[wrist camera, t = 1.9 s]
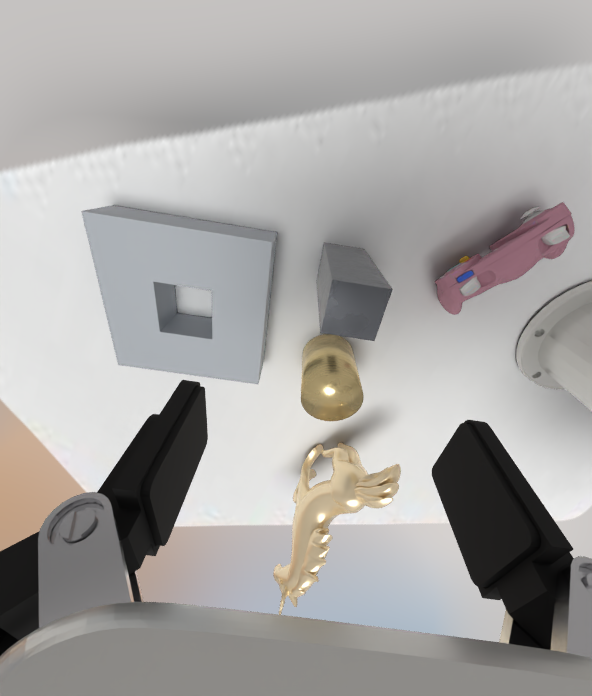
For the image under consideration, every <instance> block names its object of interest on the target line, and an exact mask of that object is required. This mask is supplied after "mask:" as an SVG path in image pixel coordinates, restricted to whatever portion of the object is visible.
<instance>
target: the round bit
mask: <svg viewBox="0 0 592 696" xmlns="http://www.w3.org/2000/svg"><path fill="white" fill-rule="evenodd" d="M301 403H302V406H303V408H304V409H305V410H306V412H307V413H308V414H310V415H311V416H313V417H315V418H317V419H320V420H324V421H338V420H343V419H346V418H348V417H350V416H352V415H353V414H355V413H356V412H357V411H358V410H359V408H360V407H361V405H362V403H363V391H362V387H361V383H360V379H359V375H358V371H357V367H356V363H355V358H354V354H353V350H352V347H351V345H350V344H349V343H348V341H347V340H345V339H344V338H342V337H340V336H337V335H331V334H323V335H319V336H317V337H315V338H313V339H311V340H310V341H309V342H308V343H307V344H306V346H305V347H304V350H303V355H302V384H301Z"/></svg>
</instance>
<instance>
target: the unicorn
mask: <svg viewBox="0 0 592 696" xmlns="http://www.w3.org/2000/svg"><path fill="white" fill-rule="evenodd" d="M337 446H338V447H335V448H331V449H329V450H323V446H322V445H321V444H319V445H317V446H316V447H315V448H313V449H312V450H311V451H310V453H309V454H308V456H307V458H306V460H305V461H304V463H303V465H302V469H301V475H300V480H299V483H298V485H297V488H296V490H295V492H294V495H293V501H294V502H295V503H296V508H295V514H294V518H293V528H292V556H291V563H290V564H288V565H287V566H285V567H281V564H278V565H277V566H276V567H275V569H274V579H275V581H276V582H277V583H278V584H279V586H280V590H281V592H282V600H281V604H280V611H279V615H281V611H282V608H283V605H284V603H285V598H286V597H287V596H289V598H290V600H291V602H292V603H293V605H294V606H295V607H297V597H300V596H302V595H304V594H305V593H306V591H307V590H308V589H309V588H310V587H311V585H312V584H313V583H314V582H316V581H317V582H318V577H317V576H316V575H317V573H318V571H319V569H320V568H321V567H322V566H323V565H324V564H325V563H326V560H325V557H326V555H327V552H328V550H329V547H328V546H326V545H327V544H328V543H329V542H330V541H331V540H332V536H331V535H328V532H329V529H328V526H329V524H330V522H331V521H332V520H333V519H334V518H335V517H336V516H338V515H339V514H346V513H356V512H358V511H360V510H361V509H362V508H363V507H364V506H365V505H366V506H368V507H371V508H382V507H385V506H387V505H388V504H390V503H391V502H392V501H393V498H391V497H393V496H394V495H395V494H396V493H397V491H398V489H399V485H398V483H397V482H398V480H399V477H400V473H401V468H400V465H399V464H396V465H393V466H391V467H389V468H388V467H387V468H386V469H384V470H383V471H381V472H378V473H374V474H369V475H368V473H367V471H366V470H365V469H364V467H363V466H362V464H361V461H360V458H359V455H358V453H357V451H356V450H355V449H354V448H353V447H351V446H348V445H345V444H344V443H339V444H337ZM321 453H322V456H323V457H326V458H333V459H332V466H333V475H332V477H331V480H327V481H323V482H320V483H318V484H316V485H315V486H313V487H312V488H311V489H310V488H309V481H310V480H311V479H312V478H314V477H315V476H316V472H315V471H314V470H313V469H310V468H311V466H312V464H313V463H314V461H315V460H316V458H317V457H318V456H319V455H320V454H321Z"/></svg>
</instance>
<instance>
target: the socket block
mask: <svg viewBox="0 0 592 696" xmlns="http://www.w3.org/2000/svg"><path fill="white" fill-rule="evenodd" d="M81 212H82V216H83V220H84V224H85V228H86V232H87V237H88V241H89V245H90V249H91V253H92V257H93V262H94V266H95V270H96V274H97V278H98V282H99V287H100V291H101V295H102V299H103V303H104V307H105V312H106V316H107V320H108V324H109V328H110V332H111V337H112V341H113V345H114V349H115V353H116V357H117V362H118V365H122V366H130V367H137V368H144V369H151V370H158V371H166V372H173V373H180V374H187V375H194V376H202V377H209V378H216V379H223V380H230V381H238V382H245V383H252V384H258V383H259V379H260V375H261V370H262V366H263V362H264V353H265V343H266V334H267V324H268V315H269V305H270V296H271V286H272V277H273V268H274V258H275V249H276V239H277V232H272V231H266V230H260V229H254V228H248V227H242V226H236V225H230V224H224V223H218V222H212V221H205V220H199V219H193V218H187V217H181V216H175V215H169V214H163V213H157V212H151V211H145V210H139V209H133V208H127V207H121V206H115V205H113V206H107V207H102V208H96V209H91V210H85V211H81ZM175 285H179V286H185V287H192V288H199V289H205V290H212V318H207V317H200V316H194V315H187V314H180V313H177V306H176V295H175Z"/></svg>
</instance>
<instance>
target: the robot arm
mask: <svg viewBox="0 0 592 696" xmlns="http://www.w3.org/2000/svg"><path fill="white" fill-rule="evenodd" d="M516 360H517V363H518V367H519V368H520V370H521V371H522V373H523V374H524V375H525V376H526V377H527V378H528V379H529V380H531V381H532V382H534V383H535V384H537V385H539V386H542V387H545V388H550V389H566V390H567V391H568V392H569V393H570V394H571V395H573V396H574V397H575V398H576V399H577V400H579V401H580V402H581V403H582V404H583V405H584V406H586V407H587V408H588V409H589V410H590V411H591V412H592V281H590V282H587V283H584V284H582V285H580V286H577V287H575V288H573V289H571V290H569V291H567V292H565V293H564V294H562V295H561V296H559V297H557V298H556V299H554V300H553V301H552V302H550V303H549V304H548V305H547V306H545V307H544V308H543V309H542V310H541V311H540V312H539V313H538V314H537V315H536V316H535V317H534V318H533V319H532V320H531V321H530V323H529V324H528V326H527V327H526V328H525V330H524V331H523V333H522V335H521V337H520V339H519V342H518V346H517V350H516ZM207 438H208V434H207V417H206V400H205V388H204V387H200V383H199V382H194V381H187V380H182V381H181V382H180V384H179V385H178V387H177V388H176V390H175V391H174V393H173V394H172V396H171V398H170V399H169V401H168V402H167V404H166V405H165V407H164V408H163V410H162V412H161V413H160V415H158V414H152V415H151V416H150V417H149V418H148V419H147V420H146V422H145V423H144V425H143V426H142V428H141V429H140V431H139V432H138V433H137V435H136V436H135V438H134V439H133V441H132V442H131V444H130V445H129V447H128V448H127V450H126V451H125V452H124V454H123V455H122V457H121V458H120V460H119V461H118V463H117V464H116V466H115V467H114V469H113V470H112V472H111V473H110V474H109V476H108V477H107V479H106V480H105V482H104V483H103V485H102V486H101V488H100V489H99V491H98V492H97V493H96V492H90V493H83V494H80V495H77V496H74V497H72V498H70V499H68V500H66V501H65V502H63V503H62V504H60V505H59V506H58V507H57V508H56V509H54V510H53V511H52V512H51V514H50V515H49V516H48V517H47V518H46V519H45V521H44V523H43V525H42V527H41V528H40V531H39V532H37V533H35V534H33V535H31V536H30V537H27V538H26V539H24V540H22V541H20V542H18V543H16V544H14V545H12V546H10V547H8V548H6V549H4V550H3V551H0V696H592V559H590V558H587V557H579V556H578V557H576V558H573V557H572V555H571V554H570V551H572V550H573V548H572V546H571V545H570V543H569V542H568V540H567V539H566V537H565V536H564V534H563V533H562V532H561V530H560V529H559V527H558V526H557V524H556V523H555V521H554V520H553V518H552V517H551V515H550V514H549V512H548V511H547V510H546V508H545V507H544V505H543V504H542V502H541V501H540V499H539V498H538V496H537V495H536V493H535V492H534V491H533V489H532V488H531V486H530V485H529V483H528V482H527V480H526V479H525V477H524V476H523V474H522V473H521V471H520V470H519V469H518V467H517V466H516V464H515V463H514V461H513V460H512V458H511V457H510V455H509V454H508V452H507V451H506V450H505V448H504V447H503V445H502V444H501V442H500V441H499V439H498V438H497V436H496V435H495V433H494V432H493V430H492V429H491V428H490V426H489V425H488V424H487V423H485V422H480V421H473V420H467V421H465V422H464V423H462V424H460V425H459V427H458V428H457V430H456V432H455V433H454V435H453V436H452V438H451V439H450V441H449V443H448V444H447V446H446V447H445V449H444V450H443V452H442V454H441V455H440V457H439V458H438V460H437V461H436V463H435V464H434V466H433V468H432V477H433V480H434V483H435V485H436V488H437V490H438V493H439V496H440V498H441V501H442V504H443V506H444V509H445V511H446V514H447V517H448V519H449V522H450V525H451V527H452V530H453V532H454V535H455V537H456V540H457V543H458V545H459V548H460V551H461V553H462V556H463V559H464V561H465V564H466V566H467V569H468V571H469V574H470V577H471V579H472V581H473V582H474V584H475V585H476V586H478V588H479V591H480V593H481V596H482V598H487V599H495V600H500V599H502V600H503V603H504V605H505V607H506V612H505V617H504V622H503V626H502V631H501V636H500V641H499V642H491V641H483V640H475V639H468V638H460V637H452V636H445V635H437V634H430V633H422V632H413V631H406V630H398V629H390V628H382V627H374V626H366V625H358V624H350V623H342V622H334V621H326V620H318V619H310V618H302V617H293V616H285V615H276V614H268V613H259V612H252V611H243V610H235V609H226V608H216V607H205V606H195V605H186V604H176V603H156V602H144V601H143V597H142V593H141V588H140V584H139V580H138V575H137V571H136V570H138V569H139V568H140V567H141V565H142V562H143V560H144V558H145V556H146V555H151V556H156V554H157V551H158V549H159V547H160V546H164V545H166V543H167V541H168V539H169V537H170V534H171V532H172V529H173V527H174V524H175V522H176V519H177V517H178V514H179V512H180V509H181V507H182V504H183V502H184V499H185V497H186V494H187V492H188V489H189V487H190V484H191V482H192V479H193V477H194V474H195V472H196V469H197V467H198V464H199V462H200V459H201V457H202V455H203V452H204V450H205V447H206V444H207Z"/></svg>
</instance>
